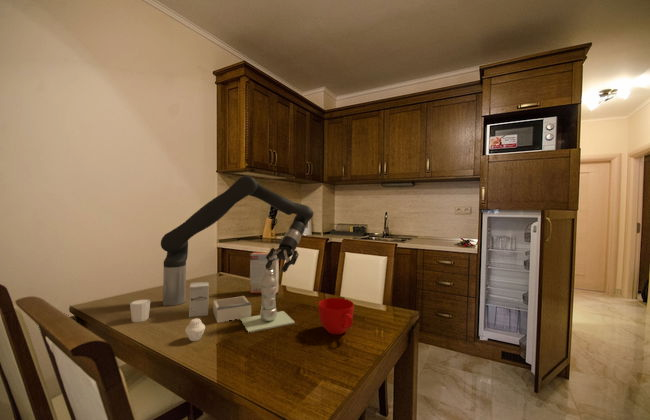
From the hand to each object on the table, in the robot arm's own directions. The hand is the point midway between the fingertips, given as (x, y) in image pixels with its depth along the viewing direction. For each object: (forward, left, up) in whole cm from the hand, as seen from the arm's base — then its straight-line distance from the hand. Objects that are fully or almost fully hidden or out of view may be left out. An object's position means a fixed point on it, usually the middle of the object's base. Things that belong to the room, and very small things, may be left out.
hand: (275, 269), depth 119 cm
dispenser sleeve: (-17, +6, -18) cm, 25 cm away
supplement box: (-29, +13, -19) cm, 36 cm away
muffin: (-32, -11, -19) cm, 38 cm away
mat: (-6, -8, -18) cm, 21 cm away
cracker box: (+4, +30, -19) cm, 36 cm away
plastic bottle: (-5, -8, -18) cm, 20 cm away
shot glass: (-50, +17, -19) cm, 56 cm away
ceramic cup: (+14, -29, -19) cm, 37 cm away
